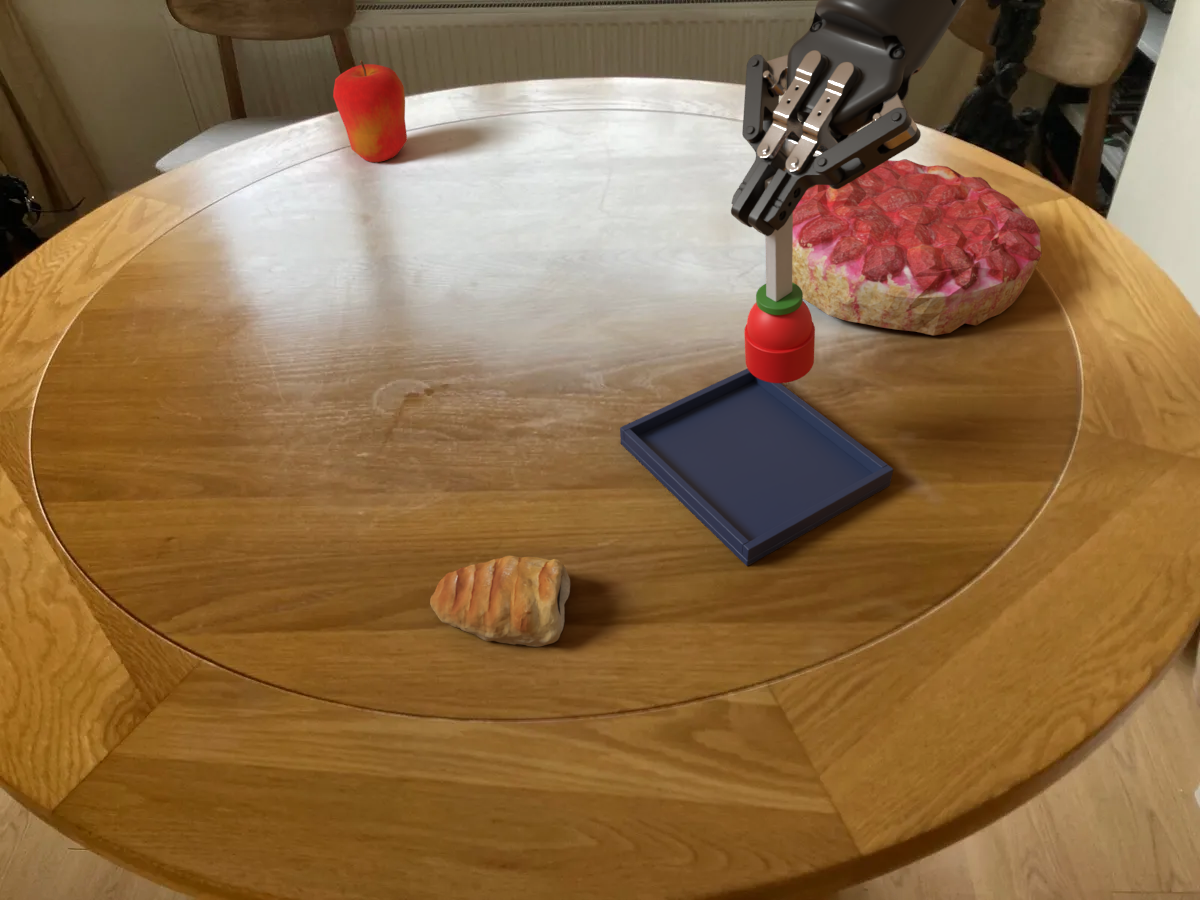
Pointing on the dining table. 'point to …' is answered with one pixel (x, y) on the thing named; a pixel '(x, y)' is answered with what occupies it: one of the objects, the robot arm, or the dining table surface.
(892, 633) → the dining table surface
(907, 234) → the cake
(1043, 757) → the dining table surface
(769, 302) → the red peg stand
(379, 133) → the apple
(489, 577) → the pastry
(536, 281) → the dining table surface
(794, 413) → the tray
